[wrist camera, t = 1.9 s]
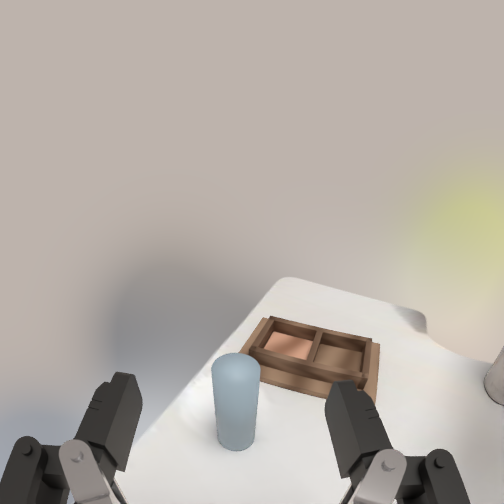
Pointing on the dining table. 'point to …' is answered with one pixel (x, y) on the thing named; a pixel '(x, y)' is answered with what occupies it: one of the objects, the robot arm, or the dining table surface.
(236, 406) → the slate peg
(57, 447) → the robot arm
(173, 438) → the dining table surface
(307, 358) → the slot rack
